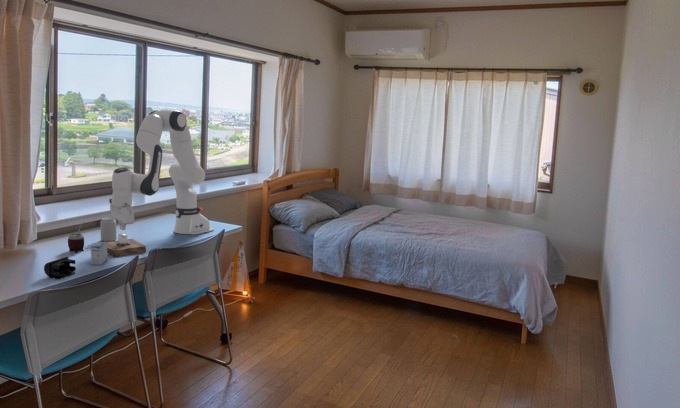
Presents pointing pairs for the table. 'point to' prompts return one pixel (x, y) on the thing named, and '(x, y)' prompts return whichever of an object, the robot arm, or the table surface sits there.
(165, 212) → the table surface
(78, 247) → the mate gourd
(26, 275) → the table surface
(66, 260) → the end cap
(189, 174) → the robot arm
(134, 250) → the block
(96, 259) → the medicine box
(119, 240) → the cylinder
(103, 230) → the can
